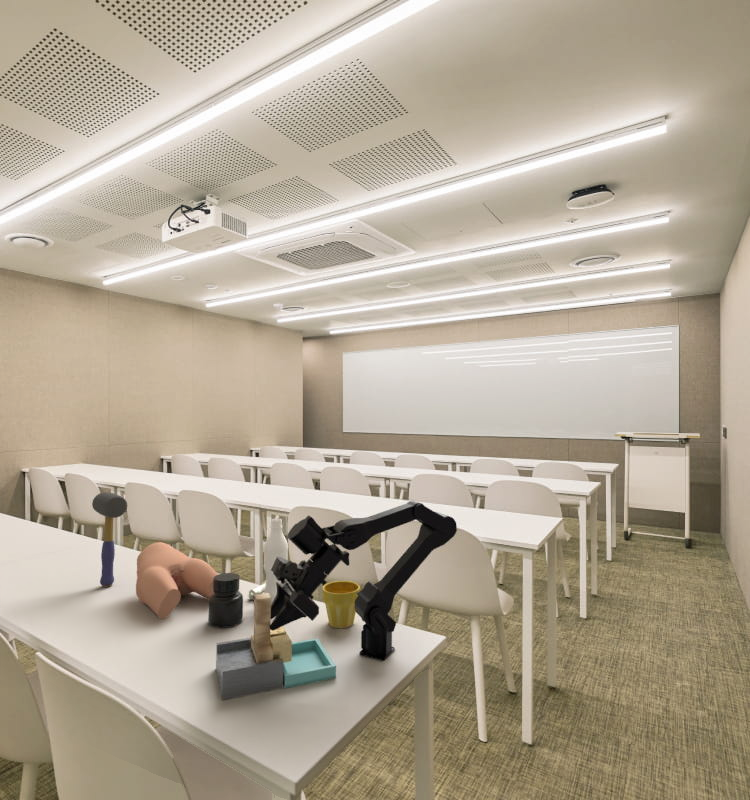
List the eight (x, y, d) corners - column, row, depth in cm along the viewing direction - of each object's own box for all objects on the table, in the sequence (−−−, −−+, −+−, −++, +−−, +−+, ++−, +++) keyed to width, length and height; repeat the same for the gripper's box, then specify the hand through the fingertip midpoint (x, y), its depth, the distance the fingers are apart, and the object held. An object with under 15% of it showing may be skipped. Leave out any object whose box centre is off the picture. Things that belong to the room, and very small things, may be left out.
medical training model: (153, 634, 132) (161, 592, 130) (115, 586, 147) (122, 547, 145) (220, 611, 148) (228, 573, 146) (180, 570, 163) (187, 535, 161)
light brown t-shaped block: (264, 644, 109) (265, 588, 110) (272, 663, 101) (274, 602, 101) (250, 646, 108) (252, 589, 109) (258, 666, 100) (259, 604, 100)
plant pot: (313, 622, 131) (314, 586, 132) (342, 612, 139) (343, 577, 139) (338, 635, 124) (339, 596, 124) (367, 623, 131) (368, 587, 131)
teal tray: (317, 648, 116) (317, 638, 117) (335, 677, 104) (336, 666, 104) (271, 657, 112) (271, 646, 112) (284, 688, 99) (285, 676, 99)
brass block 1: (282, 642, 111) (282, 625, 111) (286, 650, 107) (286, 632, 107) (264, 645, 109) (264, 627, 109) (267, 653, 106) (268, 635, 106)
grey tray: (270, 658, 112) (271, 634, 112) (282, 687, 100) (283, 660, 100) (215, 668, 107) (216, 643, 107) (222, 700, 95) (222, 671, 95)
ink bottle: (250, 617, 134) (250, 573, 135) (232, 630, 126) (233, 584, 126) (219, 613, 137) (220, 570, 137) (200, 625, 128) (201, 580, 129)
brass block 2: (287, 652, 106) (287, 634, 106) (291, 661, 102) (291, 642, 103) (268, 656, 105) (269, 637, 105) (272, 664, 101) (272, 645, 101)
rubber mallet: (126, 587, 156) (129, 494, 157) (101, 594, 150) (104, 496, 151) (112, 578, 164) (114, 489, 165) (87, 584, 158) (90, 492, 159)
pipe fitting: (248, 604, 145) (271, 601, 147) (247, 591, 145) (270, 588, 147) (249, 594, 153) (271, 591, 154) (249, 582, 153) (271, 579, 154)
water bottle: (289, 599, 147) (290, 517, 148) (285, 609, 140) (286, 522, 141) (265, 599, 147) (267, 516, 148) (260, 609, 140) (261, 522, 141)
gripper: (284, 534, 117) (236, 587, 112) (305, 555, 99) (248, 618, 95) (315, 564, 119) (269, 616, 115) (340, 589, 102) (287, 652, 97)
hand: (268, 624), depth 105 cm, fingers open, 5 cm apart
